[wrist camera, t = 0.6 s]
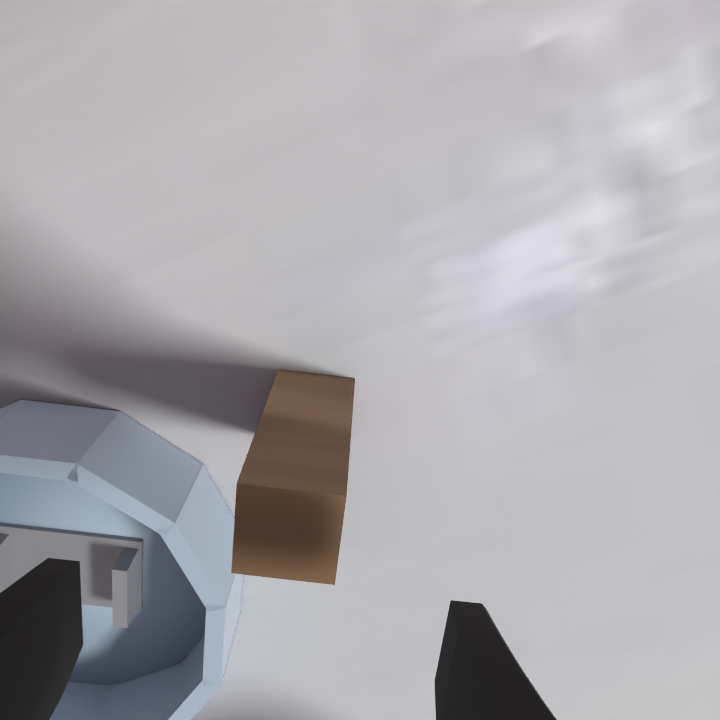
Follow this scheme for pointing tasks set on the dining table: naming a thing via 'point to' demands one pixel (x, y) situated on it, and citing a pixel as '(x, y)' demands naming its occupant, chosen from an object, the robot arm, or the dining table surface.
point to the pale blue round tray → (123, 556)
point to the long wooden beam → (295, 481)
